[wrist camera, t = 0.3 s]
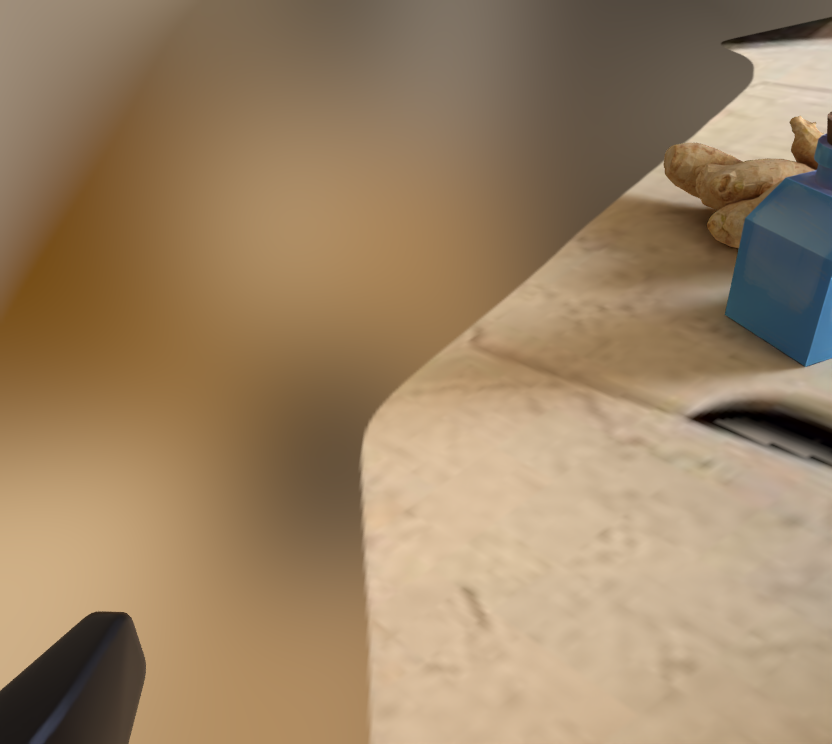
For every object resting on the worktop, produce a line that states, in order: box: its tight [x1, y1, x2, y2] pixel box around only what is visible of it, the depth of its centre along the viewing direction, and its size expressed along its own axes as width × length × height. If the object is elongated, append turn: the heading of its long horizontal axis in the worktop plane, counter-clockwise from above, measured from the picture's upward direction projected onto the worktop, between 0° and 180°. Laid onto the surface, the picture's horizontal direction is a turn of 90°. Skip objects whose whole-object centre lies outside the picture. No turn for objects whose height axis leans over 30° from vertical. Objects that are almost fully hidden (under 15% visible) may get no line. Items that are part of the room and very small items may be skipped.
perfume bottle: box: [725, 112, 832, 367], centre depth 43 cm, size 6×6×12 cm
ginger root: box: [664, 116, 825, 248], centre depth 54 cm, size 16×16×8 cm
